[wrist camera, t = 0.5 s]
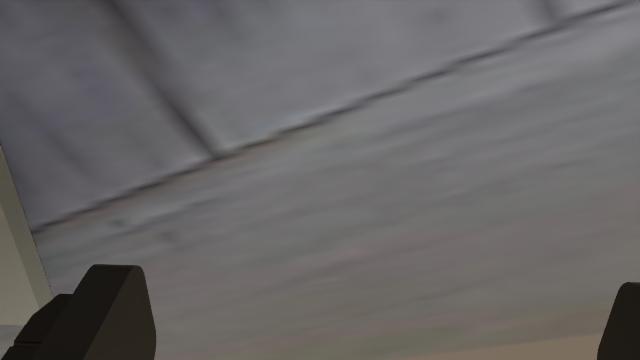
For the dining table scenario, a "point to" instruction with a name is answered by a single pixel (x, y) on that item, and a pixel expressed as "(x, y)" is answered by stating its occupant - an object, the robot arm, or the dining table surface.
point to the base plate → (18, 258)
